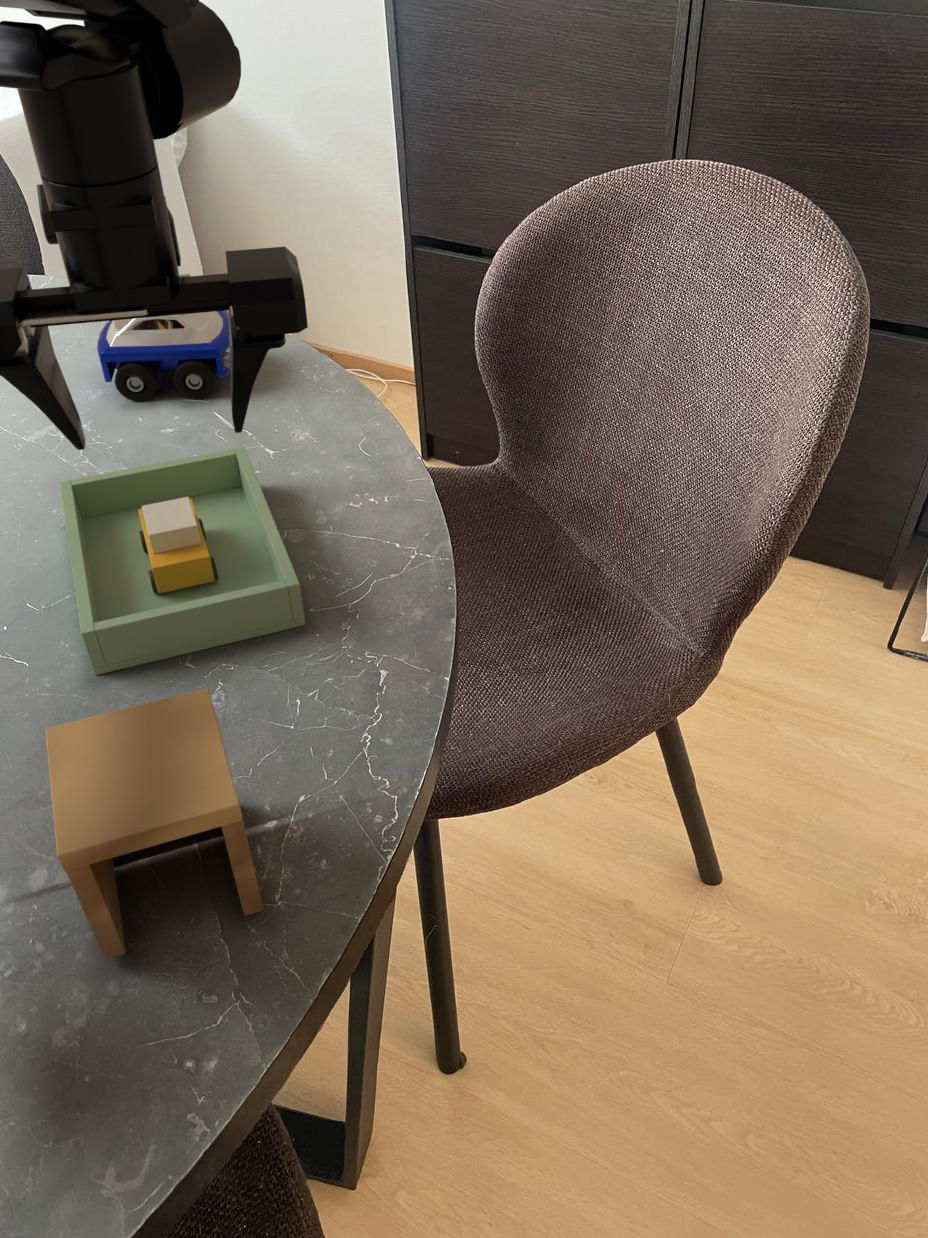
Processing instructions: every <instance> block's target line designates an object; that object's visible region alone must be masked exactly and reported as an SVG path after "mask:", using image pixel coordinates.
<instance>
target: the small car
mask: <svg viewBox="0 0 928 1238" xmlns="http://www.w3.org/2000/svg"><path fill="white" fill-rule="evenodd" d="M138 512H139V516H140V520H141V524H142V528H143V530H141V531H139V534H140V538H141V542H142V546H143V550H144V552H145V553H147V552H148V554H149V558H150V562H151V566H152V570H149V571H148V573H149V577H150V581H151V585H152V589H153V592H154V593H163V592H168V591H172V590H177V589H181V588H186V587H190V586H195V585H199V584H204V583H208V582H213V581H215V580H217V579H218V573H217V569H216V565H215V561H214V558H213V557H210V555H209V552H208V549H207V546H206V542H205V540H206V535H205V531H204V527H203V523H202V520H201V519H198V517H197V513H196V510H195V507H194V504H193V500H192V499H189V497H184V498H179V499H174V500H169V501H164V502H159V503H154V504H149V505H144V506H142V509H138Z"/></svg>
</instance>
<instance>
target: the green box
mask: <svg viewBox="0 0 928 1238" xmlns="http://www.w3.org/2000/svg"><path fill="white" fill-rule="evenodd" d="M59 488H60V494H61V500H62V508H63V515H64V522H65V529H66V537H67V544H68V550H69V556H70V557H69V558H70V564H71V565H70V566H71V571H72V572H71V573H72V578H73V585H74V591H75V597H76V598H75V599H76V604H77V606H76V607H77V613H78V621H79V627H80V634H81V637H82V641H83V643H84V646H85V649H86V652H87V655H88V658H89V661H90V664H91V667H92V670H93V673H94V676H99V675H103V674H107V673H111V672H116V671H119V670H124V669H128V668H132V667H136V666H141V665H145V664H149V663H153V662H157V661H161V660H165V659H170V658H174V657H178V656H182V655H186V654H187V655H188V654H190V653H195V652H198V651H204V650H206V649H211V648H215V647H219V646H224V645H227V644H232V643H237V642H240V641H244V640H248V639H249V640H250V639H253V638H257V637H261V636H265V635H270V634H274V633H279V632H282V631H286V630H290V629H291V630H292V629H295V628H299V627H303V626H305V625H306V620H305V612H304V605H303V597H302V590H301V583H300V581H299V578H298V576H297V574H296V571H295V569H294V566H293V563H292V561H291V559H290V556H289V554H288V551H287V548H286V546H285V543H284V541H283V539H282V536H281V533H280V531H279V529H278V526H277V523H276V522H275V519H274V516H273V513H272V511H271V509H270V507H269V504H268V501H267V499H266V496H265V494H264V492H263V489H262V486H261V485H260V481H259V479H258V477H257V475H256V471H255V469H254V466H253V465H252V462H251V460H250V457H249V455H248V452H247V450H246V447H244V446H243V447H238V448H231V449H227V450H222V451H215V452H210V453H206V454H200V455H194V456H190V457H184V458H178V459H174V460H168V461H163V462H158V463H152V464H147V465H142V466H137V467H130V468H125V469H121V470H116V471H110V472H104V473H99V474H93V475H88V476H84V477H83V476H82V477H78V478H73V479H67V480H62V481H59ZM184 497H189V499H192V500H193V504H194V507H195V510H196V513H197V517H198V519H201V520H202V523H203V527H204V531H205V535H206V540H205V542H206V546H207V549H208V552H209V555H210V557H213V558H214V561H215V565H216V569H217V573H218V579H217V580H215V581H213V582H208V583H204V584H199V585H195V586H190V587H186V588H181V589H177V590H172V591H168V592H163V593H154V592H153V589H152V585H151V581H150V577H149V573H148V571H149V570H152V566H151V562H150V558H149V554H148V552H147V553H145V552H144V550H143V546H142V542H141V538H140V534H139V531H141V530H143V528H142V524H141V520H140V516H139V512H138V509H142V506H144V505H149V504H154V503H159V502H164V501H169V500H174V499H179V498H184Z"/></svg>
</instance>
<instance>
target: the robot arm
mask: <svg viewBox="0 0 928 1238" xmlns="http://www.w3.org/2000/svg"><path fill="white" fill-rule="evenodd" d="M0 8H9V9H19V10H24V11H25V12H27V13H29V14H30V15H32V16H33V17H37V18H47V19H48V18H49V19H60V20H69V21H70V20H72V21H80V22H81V21H82V22H83V25H80V24H75V23H65V24H60V25H57V26H53V27H51V28H47V29H46V28H45V27H44V26H43V25H42V24H41V23H35V22H24V21H23V22H22V21H12V20H1V21H0V88H6V89H7V88H8V89H16V90H17V94H18V97H19V100H20V104H21V108H22V111H23V115H24V120H25V123H26V126H27V131H28V134H29V138H30V142H31V146H32V150H33V153H34V157H35V160H36V165H37V168H38V171H39V172H38V173H39V176H40V181H41V183H42V184H41V183H40V184H36V192H37V200H38V206H39V207H38V209H39V214H40V220H41V225H42V228H43V232H44V238H45V240H46V242H47V243H48V244H50V245H58V248H59V251H60V255H61V258H62V259H61V260H62V263H63V267H64V270H65V273H66V277H67V278H66V279H67V281H68V284H69V285H68V286H67V285H66V286H55V287H45V288H34V289H33V287H32V284H31V281H30V277H29V275H28V274H27V272H26V271H25V269H24V268H23V267H22V266H21V267H8V268H0V376H1V377H2V378H3V379H4V380H5V381H6V382H8V383H9V384H10V385H11V386H12V387H14V388H15V389H16V390H17V391H18V392H20V393H21V394H22V395H23V396H24V397H26V398H27V399H28V400H29V401H31V403H33V404H34V405H35V406H36V407H37V408H38V409H39V410H40V411H41V412H42V413H43V414H44V416H45V417H46V418H47V419H49V421H50V422H51V423H52V424H53V425H54V426H55V427H56V429H58V431H60V433H61V434H62V435H63V436H64V437H65V438H66V439H67V440H68V441H69V442H70V444H71V445H72V446H73V447H74V448H75V449H76V450H77V451H82V450H85V448H86V437H85V433H84V428H83V425H82V421H81V417H80V414H79V411H78V409H77V407H76V404H75V401H74V399H73V397H72V394H71V392H70V389H69V386H68V384H67V382H66V379H65V376H64V374H63V371H62V369H61V366H60V363H59V361H58V359H57V356H56V354H55V350H54V346H53V342H52V338H51V334H50V329H49V327H53V326H63V325H64V326H66V325H77V324H89V323H100V322H108V321H112V320H124V319H135V318H146V317H158V316H169V315H180V314H192V313H203V312H215V311H226V310H227V311H228V312H229V339H230V372H229V382H230V384H229V385H230V389H229V390H230V407H231V419H232V424H233V428H234V429H233V430H234V432H235V434H241V433H242V432H243V429H244V425H245V421H246V417H247V413H248V409H249V404H250V400H251V396H252V393H253V388H254V385H255V382H256V381H257V377H258V375H259V373H260V370H261V368H262V366H263V364H264V361H265V359H266V356H267V354H268V351H269V350H272V349H273V350H275V349H279V348H282V347H284V346H285V345H286V344H287V343H286V342H287V340H286V335H288V334H290V335H291V334H299V333H301V332H303V331H304V330H306V329H308V328H309V324H308V315H307V314H308V313H307V307H306V297H305V292H304V291H305V290H304V283H303V280H302V276H301V275H302V274H301V271H300V267H299V263H298V258H297V256H296V255H295V254H294V253H293V252H292V251H290V250H289V249H288V247H286V246H274V247H262V248H250V249H236V250H225V258H226V259H225V260H226V270H227V273H226V272H225V273H215V274H202V275H190V276H189V277H180V271H179V267H181V266H182V258H181V252H180V247H179V242H178V236H177V231H176V224H175V220H174V216H173V214H172V213H171V211H170V209H169V206H168V204H167V197H166V195H165V192H164V187H163V182H162V177H161V171H160V166H159V160H158V157H157V151H156V145H155V140H163V139H166V138H169V137H170V136H173V135H174V134H176V133H178V132H180V131H182V130H183V129H185V128H187V127H189V126H191V125H192V124H195V123H196V122H198V121H200V120H202V119H204V118H206V117H208V116H209V115H212V114H213V113H215V112H217V111H219V110H220V109H222V108H224V107H226V106H228V105H229V103H230V102H231V101H232V100H233V99H234V98H235V96H236V94H237V92H238V90H239V87H240V82H241V78H242V60H241V53H240V50H239V48H238V46H237V45H236V44H235V41H234V39H233V35H232V34H231V32H230V31H229V29H228V27H227V26H226V24H225V23H224V21H223V20H222V19H221V18H220V17H219V16H218V14H217V13H216V12H215V11H214V10H213V9H212V8H210V7H209V6H207V5H206V4H205V3H204V2H202V1H200V0H0Z"/></svg>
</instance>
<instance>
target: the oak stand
mask: <svg viewBox="0 0 928 1238" xmlns="http://www.w3.org/2000/svg"><path fill="white" fill-rule="evenodd" d="M44 733H45V740H46V752H47V761H48V774H49V784H50V795H51V806H52V817H53V829H54V837H55V848H56V849H55V850H56V857H57V859H58V861H59V863H60V865H61V868H62V870H63V872H65V873H66V875H67V877H68V879H69V882H70V884H71V886H72V889H73V891H74V893H75V896H76V897H77V899H78V902H79V904H80V906H81V909H82V911H83V914H84V915H85V917H86V920H87V923H88V925H89V927H90V929H91V931H92V933H93V936H94V938H95V940H96V943H97V945H98V947H99V950H100V952H101V954H102V956H103V958H104V960H110V959H113V958H116V957H120V956H123V955H125V954H126V953H127V950H126V943H125V937H124V929H123V923H122V915H121V908H120V901H119V894H118V886H117V880H116V873H115V872H116V871H115V866H114V860H113V858H117V857H121V856H124V855H127V854H131V853H134V852H138V851H142V850H145V849H148V848H152V847H155V846H158V845H162V844H166V843H169V842H173V841H176V840H179V839H183V838H186V837H189V836H193V835H196V834H200V833H204V832H207V831H210V830H214V829H218V828H221V832H222V836H223V839H224V843H225V847H226V852H227V855H228V859H229V864H230V867H231V871H232V875H233V879H234V882H235V886H236V887H235V888H236V891H237V894H238V899H239V902H240V905H241V910H242V915H243V917H246V916H250V915H253V914H255V913H256V914H257V913H259V912H262V911H264V906H263V901H262V898H261V897H262V896H261V892H260V889H259V885H258V879H257V876H256V871H255V866H254V862H253V857H252V853H251V849H250V845H249V841H248V836H247V831H246V828H245V824H244V819H243V813H242V810H241V804H240V802H239V797H238V794H237V790H236V787H235V783H234V778H233V774H232V771H231V767H230V763H229V760H228V757H227V752H226V749H225V745H224V741H223V736H222V734H221V730H220V727H219V722H218V719H217V715H216V710H215V707H214V703H213V700H212V696H211V692H210V689H209V688H208V687H205V688H202V689H197V690H193V691H190V692H185V693H181V694H178V695H173V696H170V697H166V698H165V697H164V698H161V699H157V700H154V701H149V702H145V703H142V704H138V705H134V706H130V707H127V708H122V709H118V710H114V711H110V712H106V713H102V714H97V715H93V716H90V717H85V718H81V719H77V720H74V721H70V722H67V723H61V724H57V725H53V726H50V727H46V728H45V731H44Z"/></svg>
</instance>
